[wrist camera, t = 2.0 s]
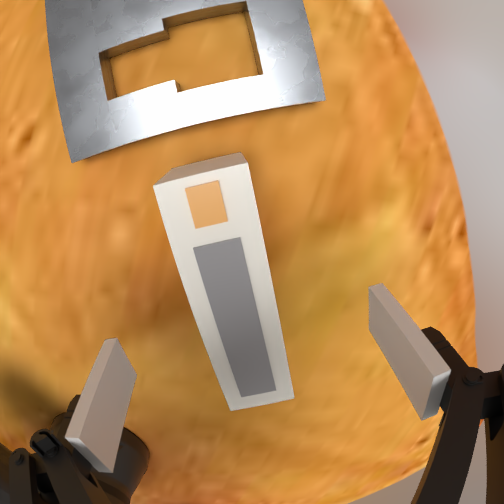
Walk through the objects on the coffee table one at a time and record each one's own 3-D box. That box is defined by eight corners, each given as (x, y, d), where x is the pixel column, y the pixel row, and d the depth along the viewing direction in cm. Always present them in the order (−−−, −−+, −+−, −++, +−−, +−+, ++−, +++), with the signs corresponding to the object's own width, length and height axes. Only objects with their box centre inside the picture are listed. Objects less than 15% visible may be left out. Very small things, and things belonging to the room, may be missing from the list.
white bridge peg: (226, 330, 30) (230, 414, 21) (179, 161, 24) (151, 187, 14) (274, 320, 30) (295, 401, 21) (238, 147, 24) (248, 163, 14)
